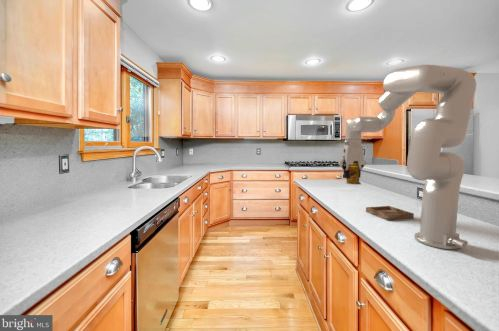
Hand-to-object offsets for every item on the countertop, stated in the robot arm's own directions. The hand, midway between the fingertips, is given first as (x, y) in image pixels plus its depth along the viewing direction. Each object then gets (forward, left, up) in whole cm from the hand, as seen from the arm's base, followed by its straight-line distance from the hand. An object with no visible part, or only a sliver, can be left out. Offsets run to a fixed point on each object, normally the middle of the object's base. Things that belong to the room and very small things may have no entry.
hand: (351, 177), depth 119 cm
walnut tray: (-12, -12, -17) cm, 24 cm away
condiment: (0, -1, -3) cm, 4 cm away
